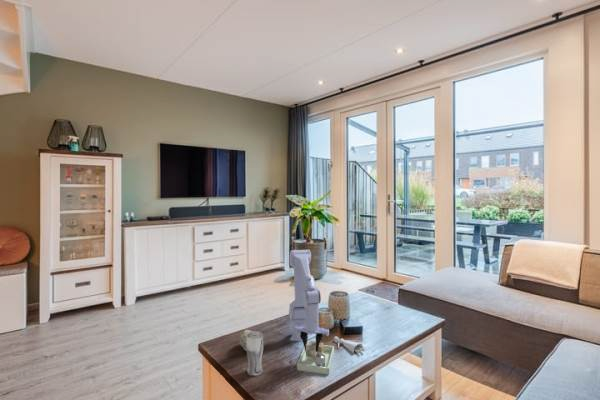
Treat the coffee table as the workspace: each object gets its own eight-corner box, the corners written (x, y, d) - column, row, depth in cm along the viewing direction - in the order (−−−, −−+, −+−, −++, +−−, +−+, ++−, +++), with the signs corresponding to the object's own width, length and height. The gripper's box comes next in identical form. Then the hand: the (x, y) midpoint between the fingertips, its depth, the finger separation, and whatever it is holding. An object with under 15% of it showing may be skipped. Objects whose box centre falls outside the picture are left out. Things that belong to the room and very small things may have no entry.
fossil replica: (256, 340, 152) (236, 347, 147) (254, 323, 152) (234, 329, 147) (265, 350, 141) (244, 357, 137) (263, 331, 141) (242, 338, 137)
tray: (306, 349, 143) (306, 342, 143) (334, 352, 140) (334, 346, 140) (296, 371, 126) (296, 364, 126) (328, 376, 123) (328, 368, 123)
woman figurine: (353, 349, 135) (325, 337, 149) (354, 360, 135) (325, 346, 149) (371, 342, 142) (342, 330, 156) (371, 351, 142) (343, 339, 156)
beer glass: (255, 364, 131) (255, 329, 130) (267, 370, 126) (267, 334, 126) (242, 372, 125) (242, 335, 125) (254, 378, 121) (254, 340, 120)
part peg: (316, 365, 130) (316, 353, 130) (325, 366, 129) (325, 354, 129) (314, 370, 126) (314, 358, 126) (324, 371, 125) (324, 359, 125)
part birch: (305, 356, 131) (305, 344, 131) (307, 351, 135) (308, 340, 135) (315, 357, 130) (315, 345, 130) (317, 352, 134) (317, 341, 134)
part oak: (312, 357, 135) (312, 346, 135) (314, 352, 139) (314, 341, 139) (321, 358, 134) (321, 347, 134) (323, 354, 138) (323, 342, 138)
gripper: (292, 320, 130) (292, 352, 130) (327, 324, 127) (327, 357, 127) (296, 314, 137) (296, 344, 137) (329, 317, 133) (329, 348, 134)
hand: (311, 350), depth 132 cm, fingers closed on part birch, 4 cm apart
